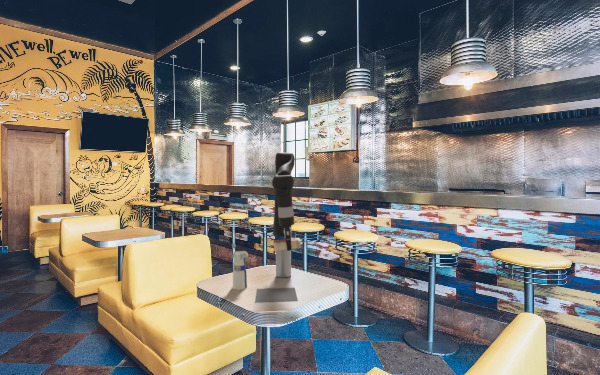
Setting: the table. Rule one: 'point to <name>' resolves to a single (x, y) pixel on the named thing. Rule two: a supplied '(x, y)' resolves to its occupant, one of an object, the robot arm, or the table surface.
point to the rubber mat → (275, 295)
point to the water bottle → (239, 269)
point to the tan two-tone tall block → (283, 246)
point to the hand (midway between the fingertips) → (289, 248)
